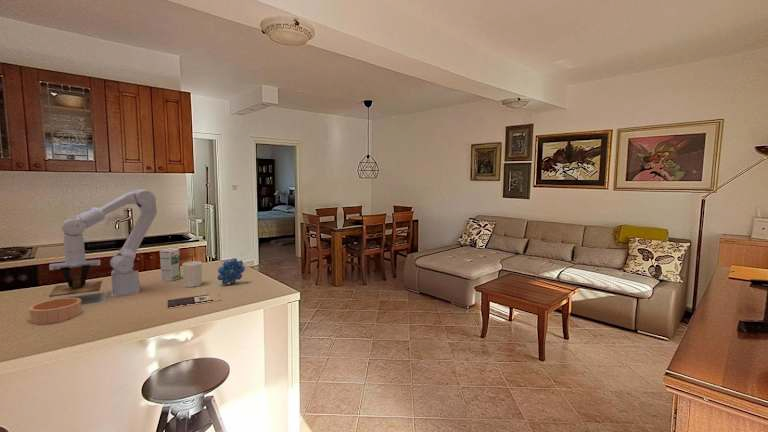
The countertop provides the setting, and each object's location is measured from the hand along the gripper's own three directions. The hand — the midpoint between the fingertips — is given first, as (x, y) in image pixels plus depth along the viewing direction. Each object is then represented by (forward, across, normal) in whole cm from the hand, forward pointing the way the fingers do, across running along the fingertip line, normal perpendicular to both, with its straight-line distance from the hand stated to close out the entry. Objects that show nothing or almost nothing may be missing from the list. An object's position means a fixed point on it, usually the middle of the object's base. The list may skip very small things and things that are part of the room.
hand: (77, 285), depth 135 cm
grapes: (+7, +54, -6) cm, 55 cm away
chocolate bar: (+7, +37, -23) cm, 44 cm away
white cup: (+6, +39, +1) cm, 40 cm away
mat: (+6, 0, 0) cm, 6 cm away
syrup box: (+6, +32, +17) cm, 37 cm away
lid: (+1, 0, 0) cm, 1 cm away
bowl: (+6, -4, -16) cm, 18 cm away
